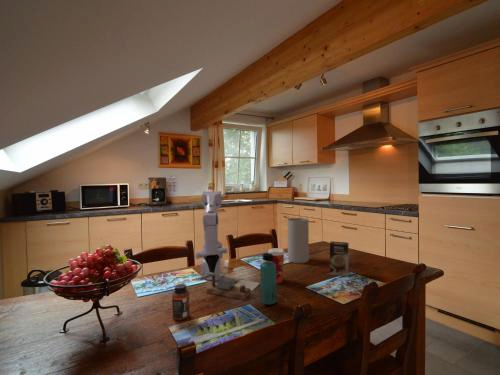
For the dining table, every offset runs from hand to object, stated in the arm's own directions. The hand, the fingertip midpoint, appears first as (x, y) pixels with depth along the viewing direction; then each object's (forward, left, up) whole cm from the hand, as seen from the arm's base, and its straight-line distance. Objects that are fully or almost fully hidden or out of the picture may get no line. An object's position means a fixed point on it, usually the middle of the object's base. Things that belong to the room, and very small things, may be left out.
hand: (211, 272), depth 112 cm
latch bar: (-3, 0, -3) cm, 4 cm away
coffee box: (+48, +46, -10) cm, 67 cm away
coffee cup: (+21, +25, -10) cm, 34 cm away
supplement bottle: (0, -20, -10) cm, 22 cm away
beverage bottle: (+26, +1, -10) cm, 28 cm away
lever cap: (+5, +4, -8) cm, 10 cm away
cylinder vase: (+23, +60, -10) cm, 65 cm away
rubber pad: (+10, +14, -10) cm, 19 cm away
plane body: (+6, +4, -10) cm, 12 cm away
